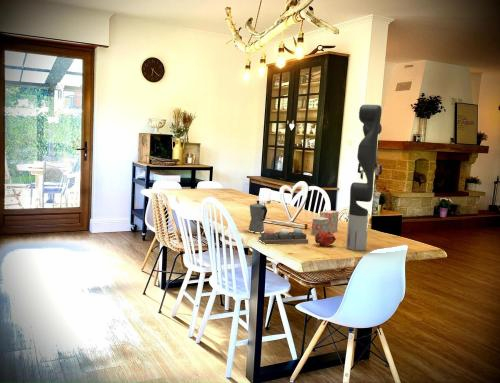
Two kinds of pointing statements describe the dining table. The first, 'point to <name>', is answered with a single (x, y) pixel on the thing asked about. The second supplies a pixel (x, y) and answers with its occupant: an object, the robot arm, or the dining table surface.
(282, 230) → the cream button
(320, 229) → the stack of blocks
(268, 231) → the terracotta button
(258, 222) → the coffeepot
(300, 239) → the button board
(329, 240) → the dragon fruit
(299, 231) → the slate button
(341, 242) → the dining table surface
